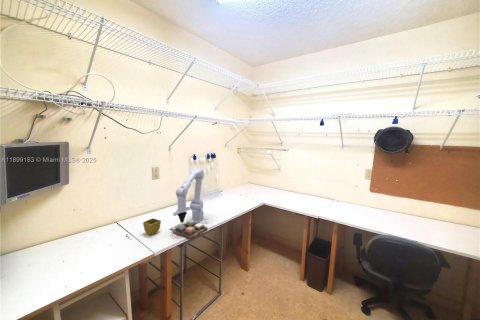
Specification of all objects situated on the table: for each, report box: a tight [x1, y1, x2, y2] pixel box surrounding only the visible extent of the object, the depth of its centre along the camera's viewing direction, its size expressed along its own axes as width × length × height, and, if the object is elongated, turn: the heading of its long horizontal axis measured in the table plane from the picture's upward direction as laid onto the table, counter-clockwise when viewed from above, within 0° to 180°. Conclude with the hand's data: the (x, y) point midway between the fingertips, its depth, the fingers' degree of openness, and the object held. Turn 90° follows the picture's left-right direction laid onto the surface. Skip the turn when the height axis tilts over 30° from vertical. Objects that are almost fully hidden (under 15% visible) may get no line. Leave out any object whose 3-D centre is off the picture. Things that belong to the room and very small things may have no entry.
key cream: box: [194, 222, 204, 228], centre depth 149 cm, size 4×4×2 cm
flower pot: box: [142, 218, 162, 236], centre depth 143 cm, size 9×9×9 cm
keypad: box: [171, 223, 208, 241], centre depth 147 cm, size 18×18×4 cm
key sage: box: [185, 219, 195, 226], centre depth 153 cm, size 4×4×2 cm
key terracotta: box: [186, 226, 195, 233], centre depth 141 cm, size 4×4×2 cm
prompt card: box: [169, 222, 185, 231], centre depth 154 cm, size 12×4×1 cm, turn 151°
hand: (181, 222), depth 145 cm, fingers closed
